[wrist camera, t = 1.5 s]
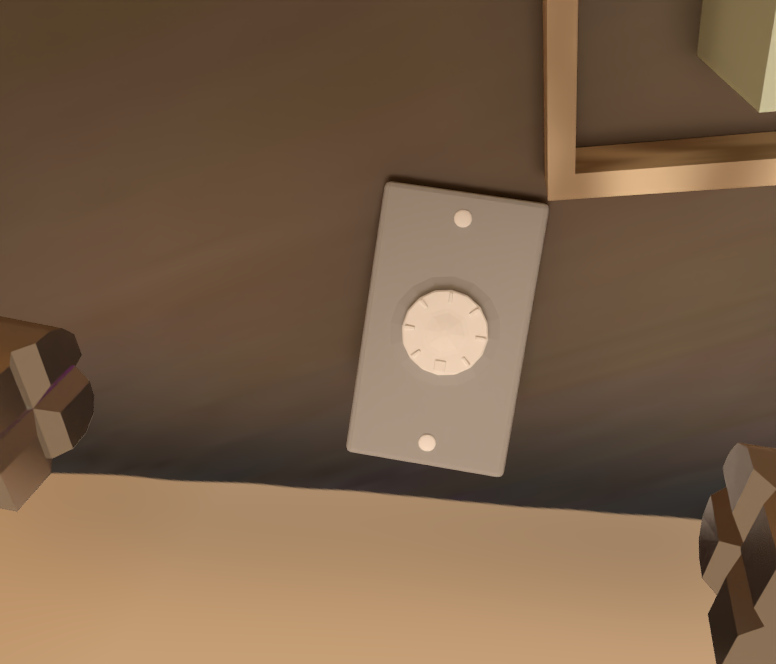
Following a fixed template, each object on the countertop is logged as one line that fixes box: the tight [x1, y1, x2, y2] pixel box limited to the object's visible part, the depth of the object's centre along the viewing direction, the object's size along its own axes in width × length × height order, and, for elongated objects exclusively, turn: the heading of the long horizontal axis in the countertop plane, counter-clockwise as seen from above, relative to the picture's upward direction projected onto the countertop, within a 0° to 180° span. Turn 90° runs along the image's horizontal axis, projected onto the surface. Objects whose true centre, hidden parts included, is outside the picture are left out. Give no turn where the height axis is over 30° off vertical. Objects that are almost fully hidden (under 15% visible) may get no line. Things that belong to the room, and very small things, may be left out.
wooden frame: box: [543, 0, 776, 201], centre depth 27 cm, size 14×14×4 cm
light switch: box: [346, 181, 549, 477], centre depth 37 cm, size 8×6×14 cm
